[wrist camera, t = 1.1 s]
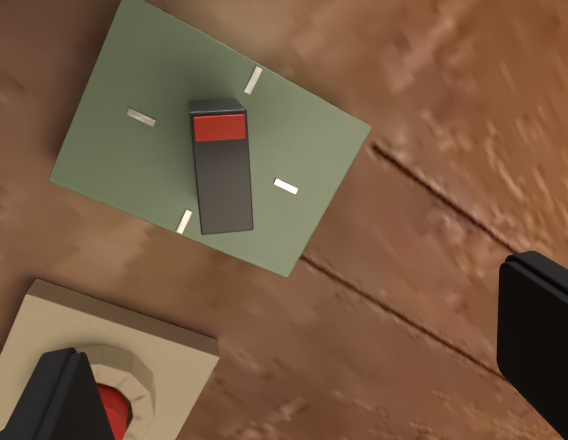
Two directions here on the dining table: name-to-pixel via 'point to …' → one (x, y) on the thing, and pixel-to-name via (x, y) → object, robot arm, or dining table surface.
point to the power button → (114, 409)
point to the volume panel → (178, 141)
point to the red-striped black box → (221, 165)
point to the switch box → (110, 356)
